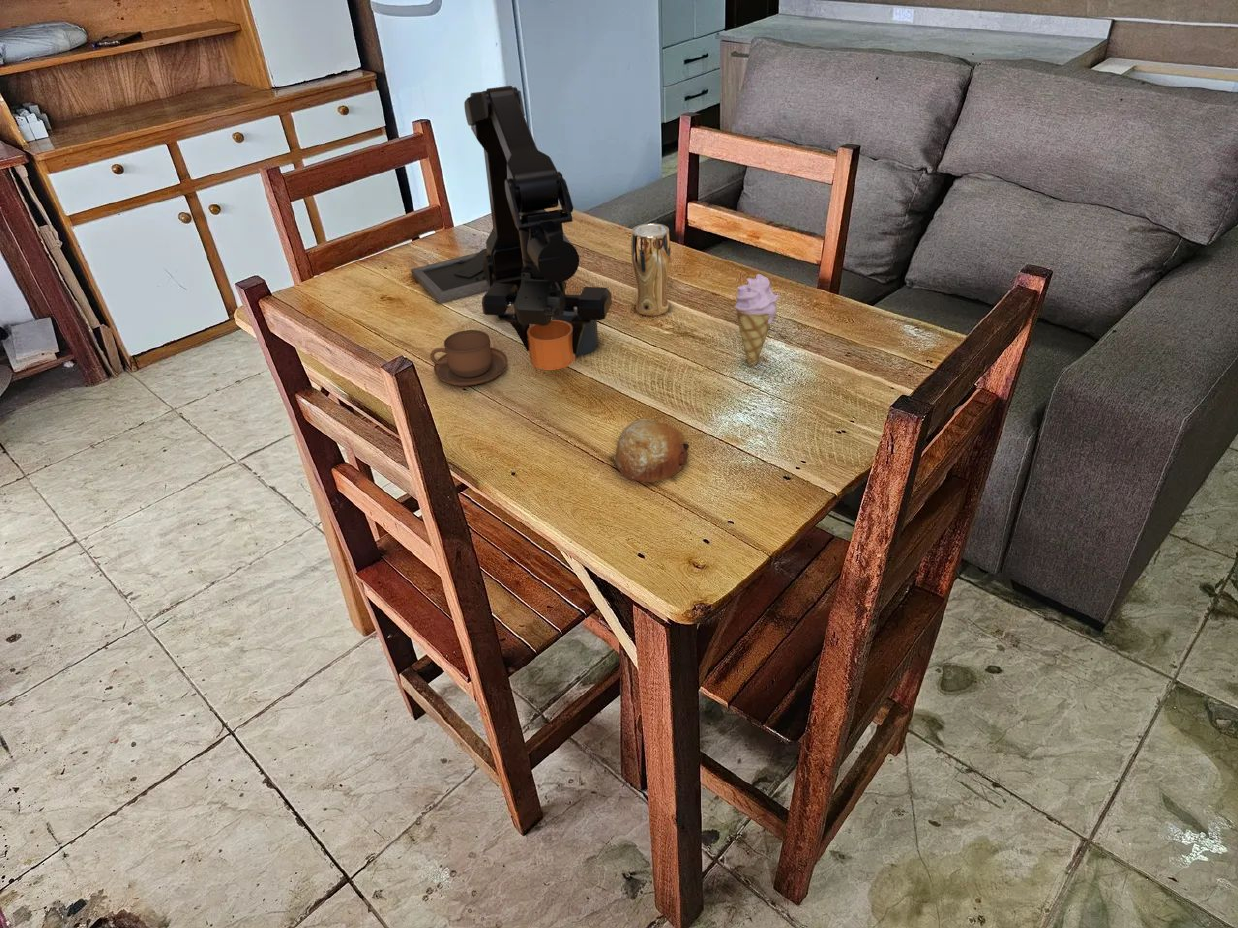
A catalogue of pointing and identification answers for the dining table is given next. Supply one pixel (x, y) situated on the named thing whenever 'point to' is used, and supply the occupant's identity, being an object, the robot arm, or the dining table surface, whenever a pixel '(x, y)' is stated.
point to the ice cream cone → (755, 314)
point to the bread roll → (650, 451)
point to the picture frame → (453, 277)
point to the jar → (588, 336)
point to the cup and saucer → (468, 359)
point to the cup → (551, 345)
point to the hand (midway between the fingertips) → (552, 351)
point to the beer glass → (651, 267)
